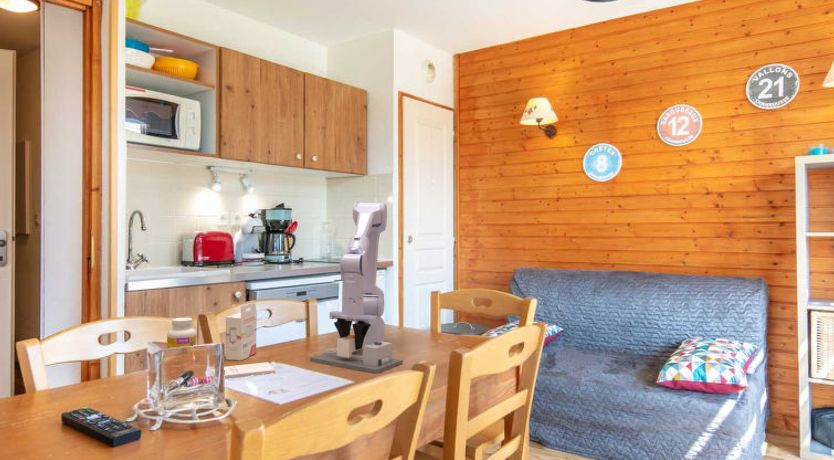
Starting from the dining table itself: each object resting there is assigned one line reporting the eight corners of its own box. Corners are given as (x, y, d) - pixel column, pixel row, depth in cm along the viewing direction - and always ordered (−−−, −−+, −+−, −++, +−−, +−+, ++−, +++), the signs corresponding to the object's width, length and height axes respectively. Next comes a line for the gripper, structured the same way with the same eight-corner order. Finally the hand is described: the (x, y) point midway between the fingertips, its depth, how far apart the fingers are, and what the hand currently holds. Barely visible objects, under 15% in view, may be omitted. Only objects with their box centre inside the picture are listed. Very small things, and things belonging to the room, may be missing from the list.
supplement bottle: (173, 375, 131) (174, 322, 131) (161, 370, 135) (162, 318, 135) (200, 370, 136) (201, 319, 136) (188, 365, 140) (189, 315, 140)
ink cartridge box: (240, 352, 155) (241, 301, 155) (256, 353, 154) (257, 301, 154) (224, 359, 147) (225, 305, 147) (241, 361, 146) (241, 306, 146)
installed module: (379, 358, 147) (379, 338, 147) (391, 360, 145) (392, 340, 145) (362, 364, 141) (363, 343, 140) (375, 366, 138) (375, 345, 138)
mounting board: (338, 352, 157) (338, 349, 157) (402, 363, 146) (402, 359, 146) (310, 361, 147) (310, 357, 147) (376, 373, 136) (376, 369, 136)
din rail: (333, 352, 153) (333, 347, 153) (389, 362, 143) (389, 356, 143) (324, 355, 150) (324, 349, 150) (381, 365, 140) (381, 359, 140)
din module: (354, 350, 151) (354, 332, 151) (365, 352, 149) (366, 334, 149) (336, 355, 145) (337, 336, 145) (348, 357, 143) (349, 338, 143)
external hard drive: (274, 375, 135) (222, 381, 129) (267, 367, 142) (217, 372, 136) (275, 369, 135) (222, 374, 129) (267, 361, 142) (217, 366, 136)
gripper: (322, 297, 147) (321, 347, 147) (365, 301, 140) (364, 354, 140) (338, 294, 153) (338, 342, 153) (381, 298, 146) (380, 349, 146)
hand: (352, 347), depth 147 cm, fingers closed on din module, 4 cm apart
